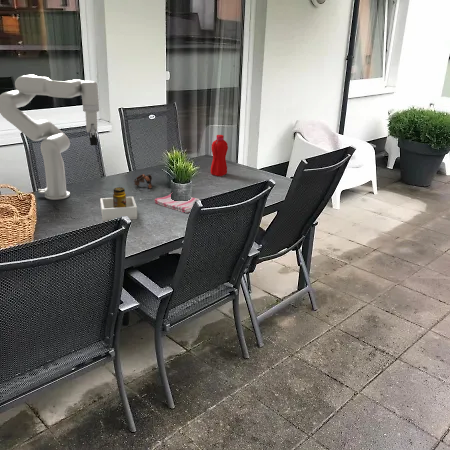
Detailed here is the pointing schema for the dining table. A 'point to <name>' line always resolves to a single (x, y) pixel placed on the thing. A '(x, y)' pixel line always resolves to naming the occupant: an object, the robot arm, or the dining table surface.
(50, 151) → the robot arm
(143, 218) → the dining table surface
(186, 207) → the dish towel
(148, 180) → the brown jointed arch figure
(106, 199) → the bin
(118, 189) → the condiment
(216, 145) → the water bottle
